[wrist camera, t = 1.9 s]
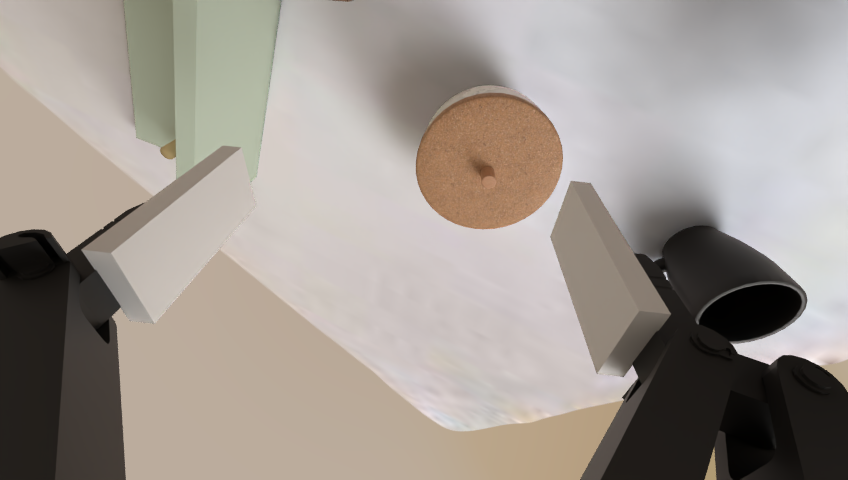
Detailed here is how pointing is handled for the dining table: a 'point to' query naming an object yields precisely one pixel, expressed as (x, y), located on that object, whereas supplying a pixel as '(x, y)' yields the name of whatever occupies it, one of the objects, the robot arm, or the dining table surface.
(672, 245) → the mug
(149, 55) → the ledge
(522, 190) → the lidded jar
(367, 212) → the dining table surface
